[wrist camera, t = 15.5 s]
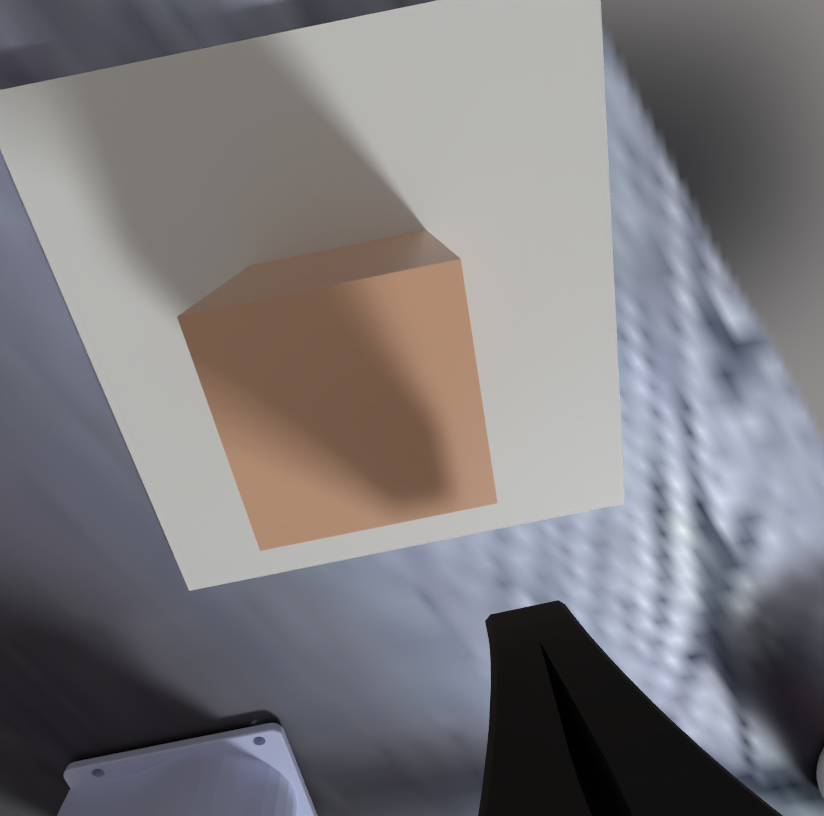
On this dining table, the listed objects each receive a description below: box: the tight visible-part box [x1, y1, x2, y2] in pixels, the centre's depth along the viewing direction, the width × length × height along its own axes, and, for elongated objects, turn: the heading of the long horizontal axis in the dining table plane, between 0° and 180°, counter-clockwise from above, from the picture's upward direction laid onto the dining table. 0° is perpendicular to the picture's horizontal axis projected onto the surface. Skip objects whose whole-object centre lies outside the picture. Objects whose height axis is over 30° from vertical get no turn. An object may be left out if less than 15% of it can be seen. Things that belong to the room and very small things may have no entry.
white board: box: [0, 0, 625, 591], centre depth 15 cm, size 16×16×6 cm
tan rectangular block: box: [177, 230, 497, 551], centre depth 14 cm, size 5×5×7 cm
